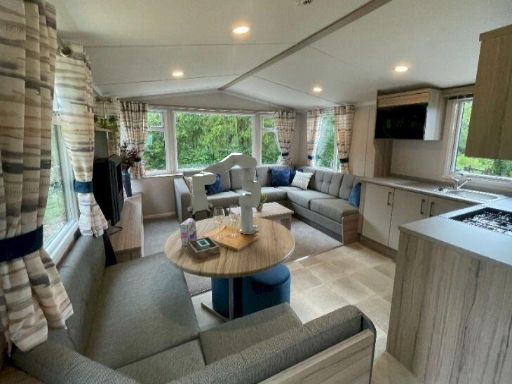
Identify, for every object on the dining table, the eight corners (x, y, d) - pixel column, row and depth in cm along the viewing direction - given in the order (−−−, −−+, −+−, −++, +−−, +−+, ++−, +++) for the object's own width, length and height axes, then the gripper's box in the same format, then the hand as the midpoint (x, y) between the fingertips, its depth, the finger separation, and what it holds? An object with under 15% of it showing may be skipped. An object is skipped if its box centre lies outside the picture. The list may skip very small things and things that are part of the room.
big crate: (209, 242, 186) (208, 236, 185) (220, 253, 169) (219, 246, 168) (187, 248, 178) (187, 241, 177) (196, 259, 161) (196, 252, 160)
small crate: (205, 245, 179) (204, 239, 178) (210, 251, 171) (209, 244, 170) (197, 247, 176) (196, 241, 175) (201, 253, 168) (201, 246, 167)
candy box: (189, 246, 180) (187, 224, 177) (181, 246, 182) (179, 224, 178) (197, 238, 194) (195, 218, 190) (190, 238, 195) (188, 217, 191)
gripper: (209, 190, 172) (211, 214, 176) (184, 194, 164) (186, 219, 168) (213, 192, 166) (215, 217, 170) (187, 196, 157) (190, 222, 161)
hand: (201, 218), depth 169 cm, fingers open, 9 cm apart
